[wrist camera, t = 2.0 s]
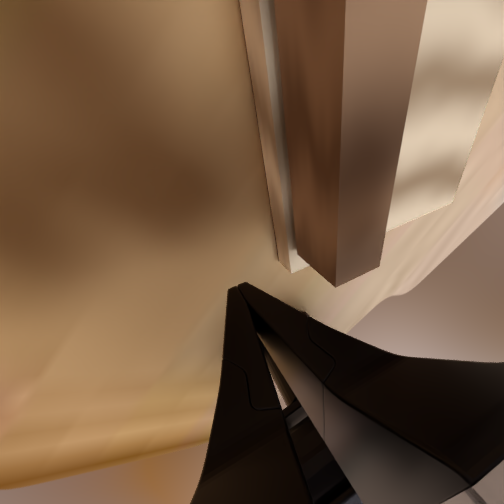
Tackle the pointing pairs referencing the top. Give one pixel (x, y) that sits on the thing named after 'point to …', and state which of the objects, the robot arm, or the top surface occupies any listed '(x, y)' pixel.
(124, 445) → the top surface
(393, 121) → the walnut leg
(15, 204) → the top surface
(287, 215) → the stool seat
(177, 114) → the top surface
